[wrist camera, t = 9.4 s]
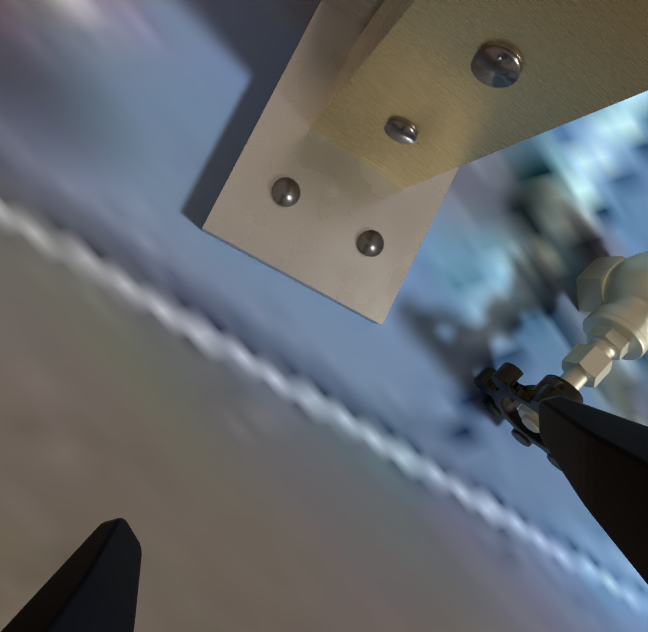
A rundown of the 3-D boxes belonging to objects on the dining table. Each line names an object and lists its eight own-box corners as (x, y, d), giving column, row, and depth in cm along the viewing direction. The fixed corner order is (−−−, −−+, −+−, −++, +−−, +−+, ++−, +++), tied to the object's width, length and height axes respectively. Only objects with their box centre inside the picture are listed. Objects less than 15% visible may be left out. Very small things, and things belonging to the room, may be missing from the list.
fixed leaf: (373, 322, 21) (467, 346, 14) (201, 230, 18) (210, 201, 11) (481, 101, 22) (623, 16, 15) (332, -20, 19) (417, -195, 12)
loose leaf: (402, 192, 20) (789, 39, 7) (308, 130, 18) (588, -207, 6) (440, 114, 20) (881, -170, 7) (352, 46, 19) (714, -461, 6)
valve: (594, 222, 25) (452, 363, 23) (731, 204, 19) (552, 395, 17) (642, 308, 27) (514, 446, 25) (782, 318, 20) (626, 505, 18)
